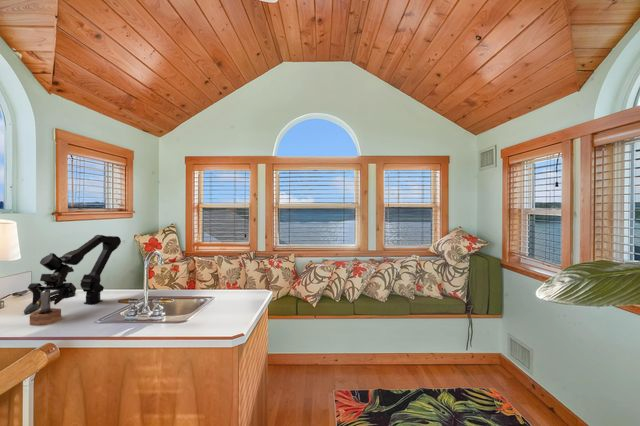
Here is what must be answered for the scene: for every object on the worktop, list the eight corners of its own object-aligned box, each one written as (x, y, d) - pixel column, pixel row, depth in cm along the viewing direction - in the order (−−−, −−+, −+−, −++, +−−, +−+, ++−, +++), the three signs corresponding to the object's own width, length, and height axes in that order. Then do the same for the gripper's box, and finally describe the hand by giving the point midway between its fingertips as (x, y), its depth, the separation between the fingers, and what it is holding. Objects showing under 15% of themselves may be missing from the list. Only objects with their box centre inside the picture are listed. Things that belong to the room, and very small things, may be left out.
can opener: (68, 294, 198) (68, 285, 198) (77, 295, 196) (77, 286, 196) (35, 303, 181) (35, 292, 181) (43, 304, 179) (43, 294, 179)
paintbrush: (34, 314, 164) (34, 304, 164) (21, 315, 162) (21, 305, 162) (48, 302, 182) (48, 293, 182) (37, 303, 180) (37, 294, 180)
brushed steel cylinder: (46, 319, 157) (45, 289, 157) (52, 319, 157) (52, 290, 156) (39, 321, 154) (38, 291, 153) (45, 322, 153) (45, 292, 153)
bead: (47, 315, 161) (47, 307, 161) (66, 317, 160) (66, 309, 160) (23, 324, 151) (23, 315, 150) (44, 325, 149) (44, 317, 149)
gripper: (30, 266, 157) (11, 296, 147) (72, 266, 159) (57, 295, 149) (42, 279, 165) (25, 308, 155) (82, 278, 168) (68, 307, 157)
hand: (43, 304), depth 154 cm, fingers open, 9 cm apart
